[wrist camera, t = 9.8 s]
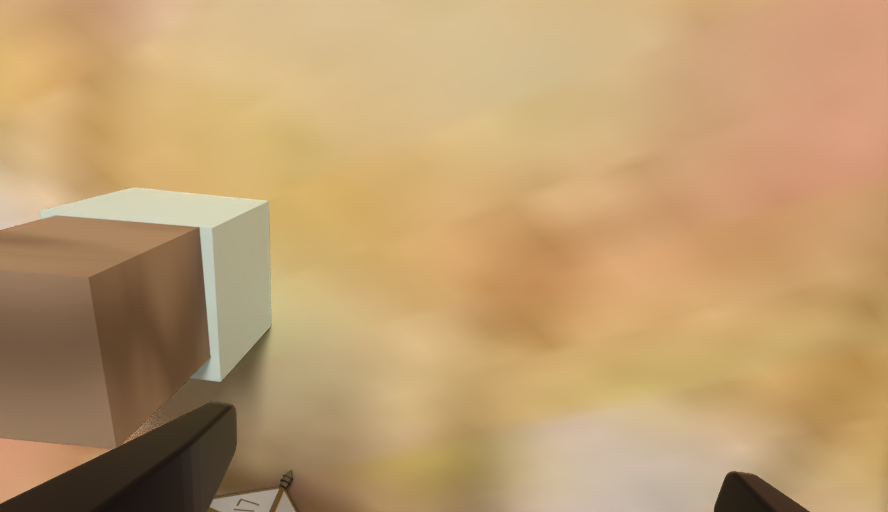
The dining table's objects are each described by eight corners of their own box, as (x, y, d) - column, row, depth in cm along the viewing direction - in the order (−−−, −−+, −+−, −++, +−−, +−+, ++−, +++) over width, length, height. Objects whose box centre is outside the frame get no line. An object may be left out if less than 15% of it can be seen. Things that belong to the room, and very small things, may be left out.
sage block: (270, 200, 21) (212, 228, 16) (272, 324, 23) (220, 381, 18) (136, 186, 21) (39, 210, 16) (149, 311, 23) (65, 364, 18)
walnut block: (210, 357, 18) (116, 449, 13) (79, 345, 18) (-62, 432, 13) (199, 227, 16) (88, 277, 12) (55, 215, 16) (-112, 260, 12)
